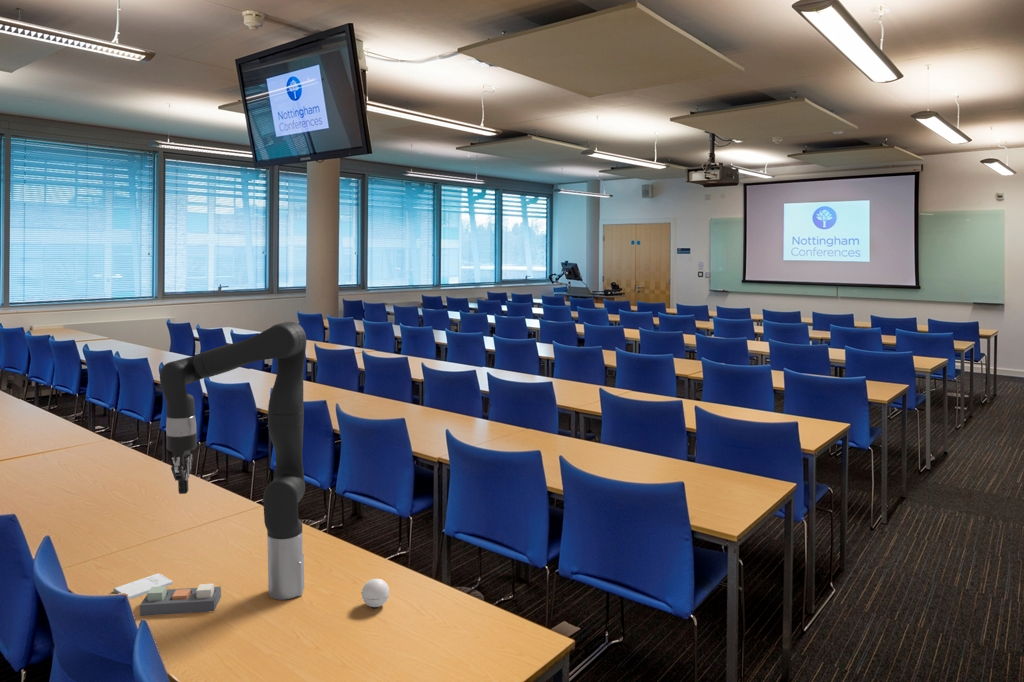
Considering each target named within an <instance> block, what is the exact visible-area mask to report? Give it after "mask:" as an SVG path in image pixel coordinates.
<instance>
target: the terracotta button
mask: <svg viewBox="0 0 1024 682" xmlns="http://www.w3.org/2000/svg"><path fill="white" fill-rule="evenodd" d="M181 589H182V590H176V591H175V592H174V594H173V596H172V600H180V599H188V598H189V596H190V595H191V591H190V589H186V588H181Z"/></svg>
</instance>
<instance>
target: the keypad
mask: <svg viewBox="0 0 1024 682" xmlns="http://www.w3.org/2000/svg"><path fill="white" fill-rule="evenodd" d="M197 588H198V587H191V588H190V587H189V588H185V589H190V591H191V595H190V596H189V598H188V599H180V600H172V596H173V594H174V592H175V591H176V590H182V589H183V588H172V589H170V588H169V589H166V591H167V596H166V597H165V599H164V600H163V601H148V598H147V595H145V597H144V598H143V599H142V601H141V602H140V604H139V616H140V617H147V616H163V615H177V614H178V615H181V614H194V613H195V614H196V613H197V614H199V613H210V612H209V611H214V610H215V611H216V609H217V606H218V604H219V602H220V601H221V598H222V586H214V595H213V597H212V598H196V590H197ZM215 611H214V612H215Z"/></svg>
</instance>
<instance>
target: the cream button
mask: <svg viewBox="0 0 1024 682" xmlns="http://www.w3.org/2000/svg"><path fill="white" fill-rule="evenodd" d="M214 587H215V583H199V585H198V586H197V587H196V588H197V590H196V598H212V597H213V595H214Z"/></svg>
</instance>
